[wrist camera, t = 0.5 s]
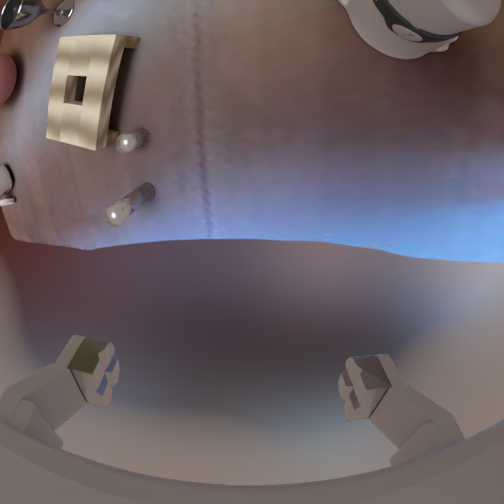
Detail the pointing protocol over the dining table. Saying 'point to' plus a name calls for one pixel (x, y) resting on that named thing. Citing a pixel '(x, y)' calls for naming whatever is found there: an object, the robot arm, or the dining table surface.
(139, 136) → the short pin
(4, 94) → the balloon
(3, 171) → the spread jar
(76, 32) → the dining table surface
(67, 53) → the board
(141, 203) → the grey peg
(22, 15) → the wine glass
